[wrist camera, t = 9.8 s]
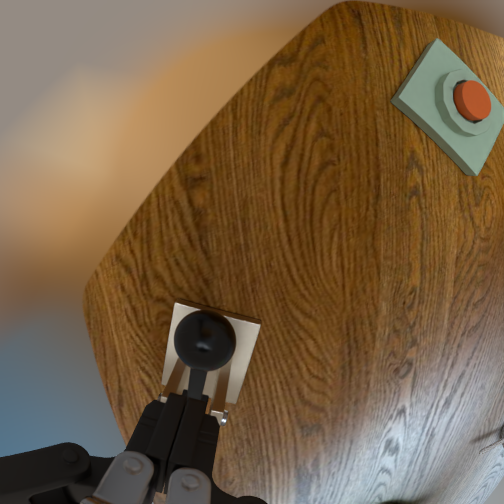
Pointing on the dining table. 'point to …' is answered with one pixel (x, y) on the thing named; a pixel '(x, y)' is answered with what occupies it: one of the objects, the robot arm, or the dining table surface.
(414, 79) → the control block
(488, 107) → the power button
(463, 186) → the dining table surface
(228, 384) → the bracket
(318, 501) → the dining table surface
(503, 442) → the saucepan
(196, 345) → the lever
